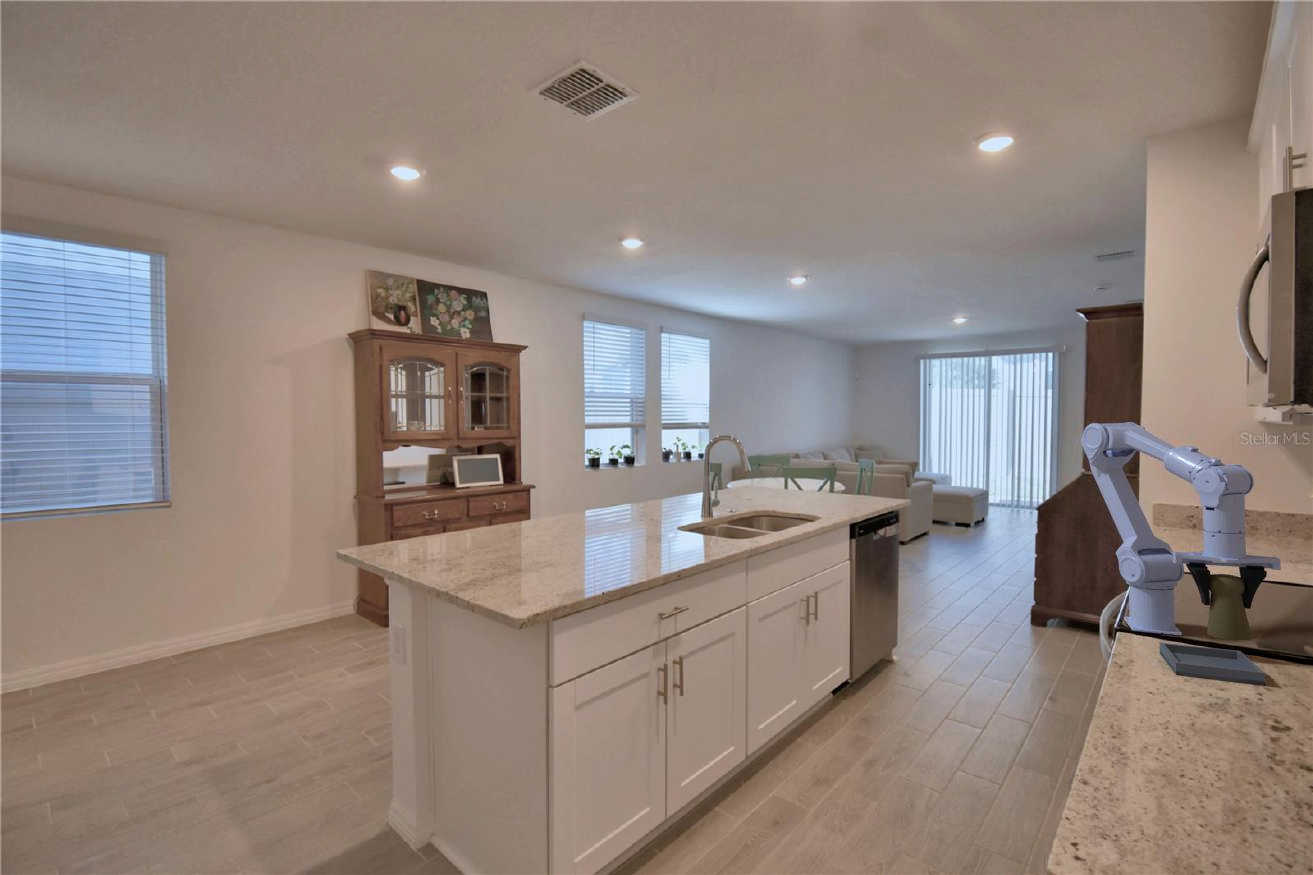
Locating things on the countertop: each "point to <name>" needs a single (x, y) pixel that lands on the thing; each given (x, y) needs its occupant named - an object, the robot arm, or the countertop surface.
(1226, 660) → the tray
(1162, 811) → the countertop surface
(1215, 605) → the cork
